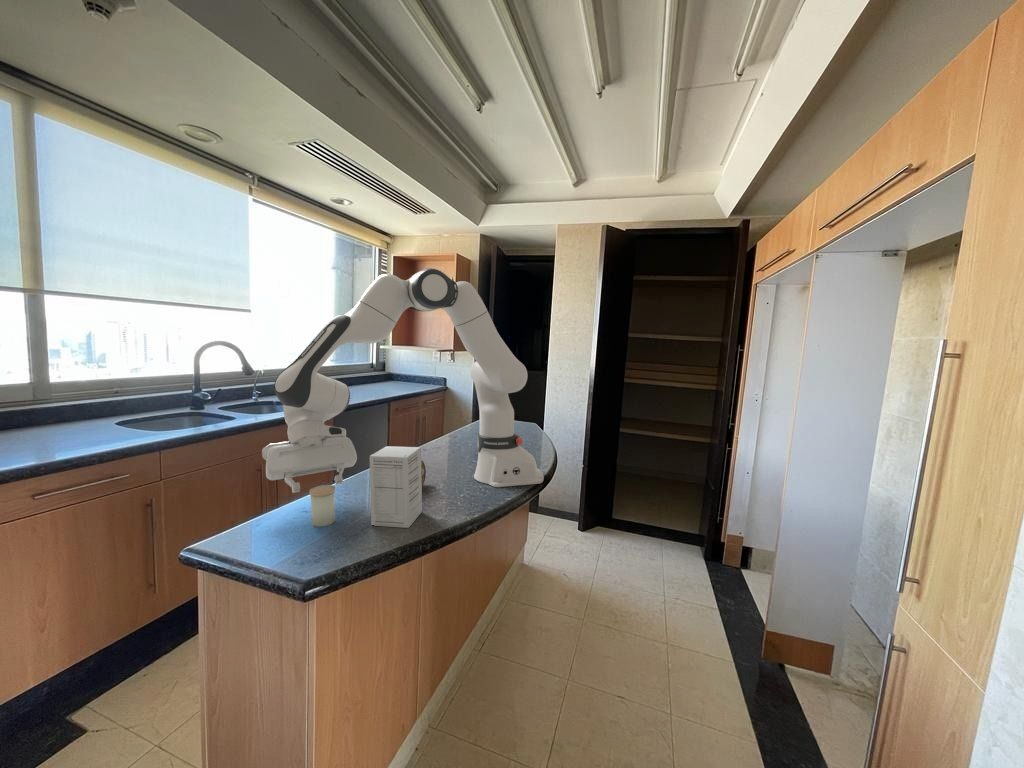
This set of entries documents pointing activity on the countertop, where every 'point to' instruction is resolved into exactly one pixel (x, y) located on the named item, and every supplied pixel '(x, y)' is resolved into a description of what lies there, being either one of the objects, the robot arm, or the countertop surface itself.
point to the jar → (322, 505)
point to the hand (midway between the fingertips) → (318, 487)
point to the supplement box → (395, 486)
